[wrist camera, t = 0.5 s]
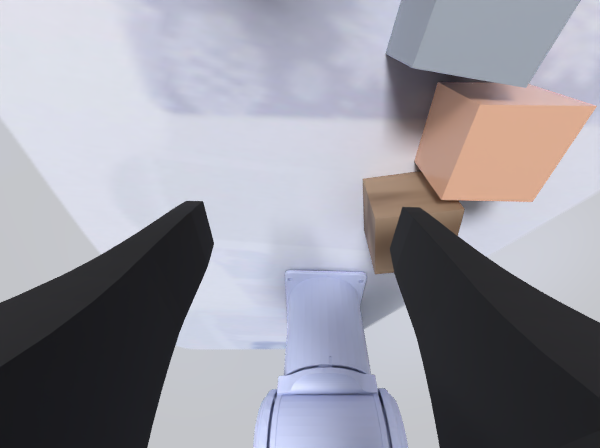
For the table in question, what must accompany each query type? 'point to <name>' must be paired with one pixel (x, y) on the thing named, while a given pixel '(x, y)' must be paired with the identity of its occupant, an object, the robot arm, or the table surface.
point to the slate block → (478, 36)
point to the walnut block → (387, 207)
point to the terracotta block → (496, 139)
